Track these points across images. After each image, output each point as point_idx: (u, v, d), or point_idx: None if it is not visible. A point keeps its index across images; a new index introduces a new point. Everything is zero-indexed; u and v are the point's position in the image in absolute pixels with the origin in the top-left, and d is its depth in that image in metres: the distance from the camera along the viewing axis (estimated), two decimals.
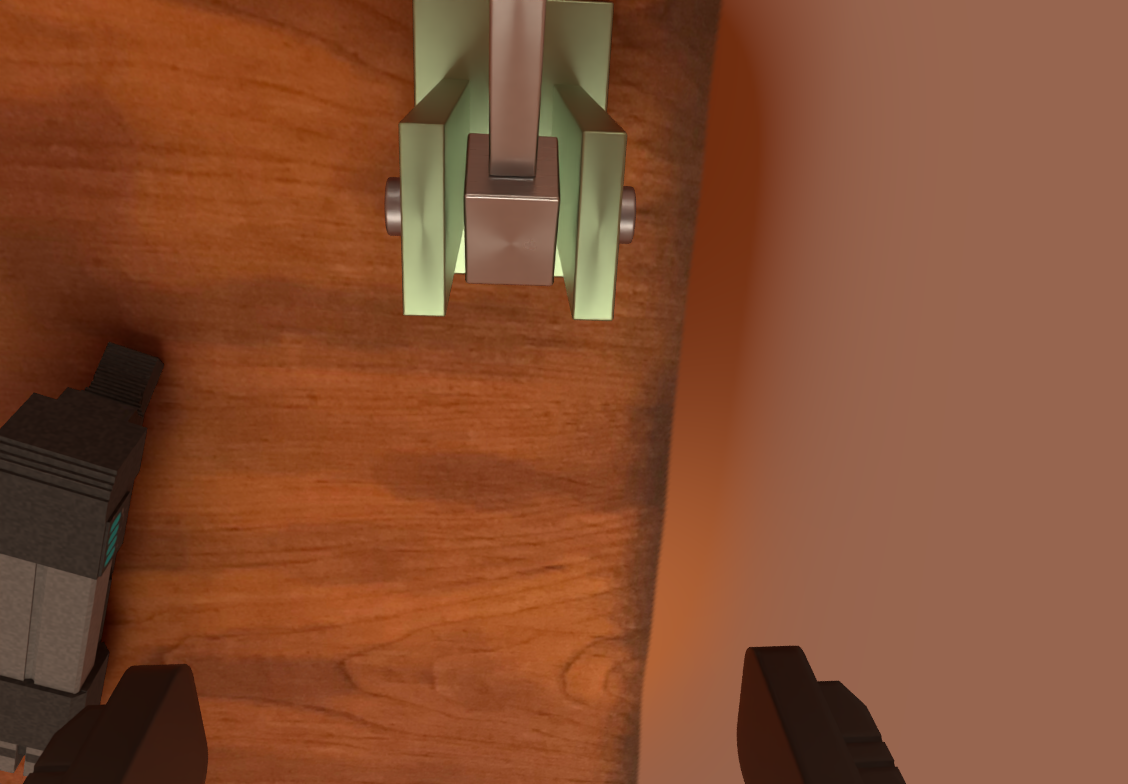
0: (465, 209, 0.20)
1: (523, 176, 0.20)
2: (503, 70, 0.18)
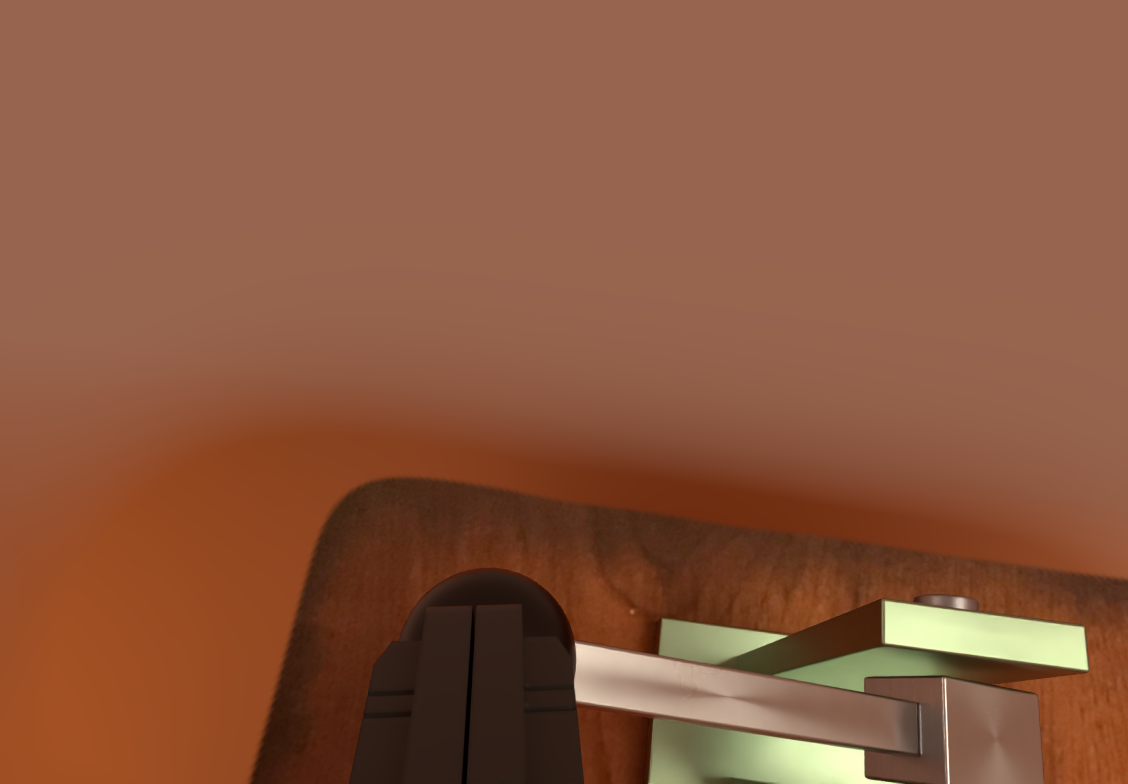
0: None
1: (917, 716, 0.19)
2: (815, 724, 0.18)
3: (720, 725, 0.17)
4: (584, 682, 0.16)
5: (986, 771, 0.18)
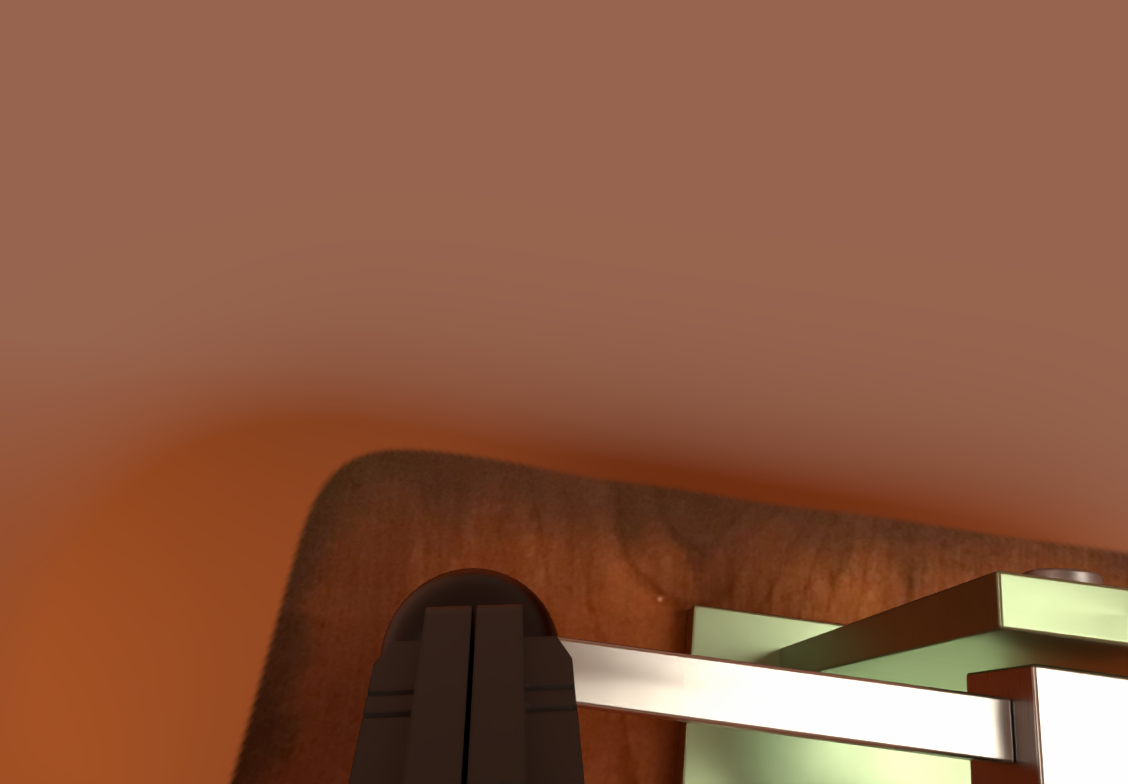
0: None
1: (1012, 715, 0.16)
2: (861, 724, 0.15)
3: (735, 725, 0.15)
4: None
5: (1104, 781, 0.15)
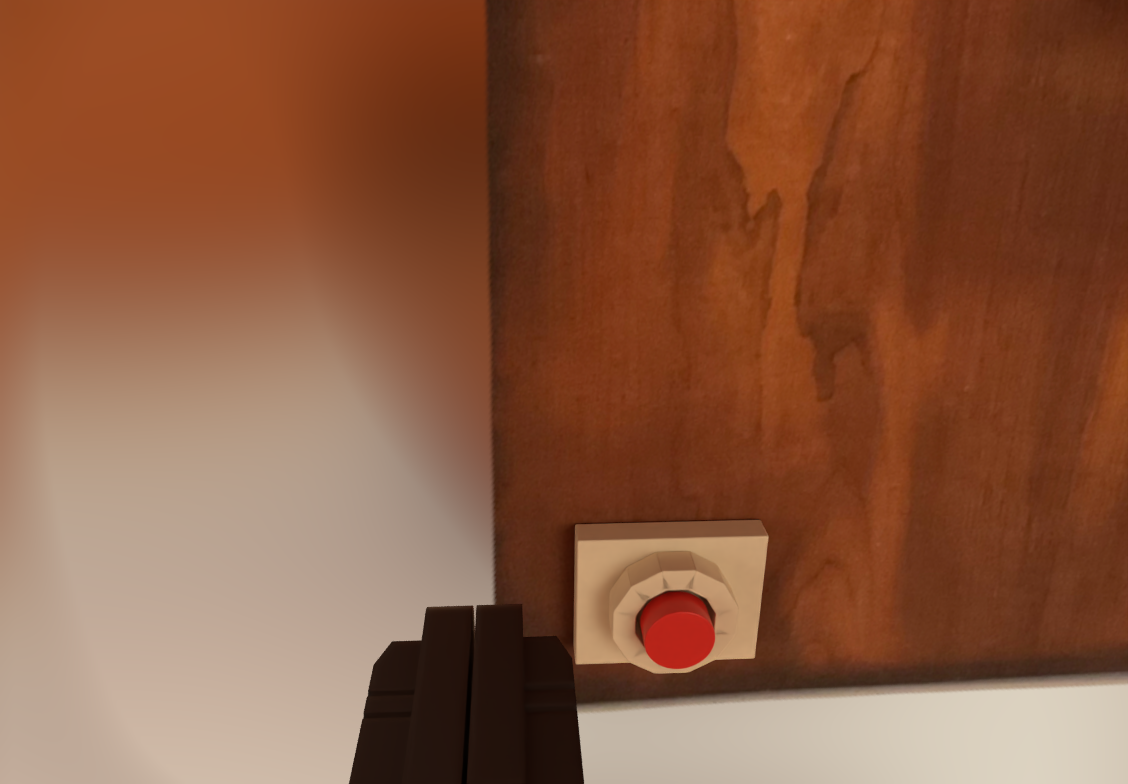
0: None
1: None
2: None
3: None
4: None
5: None
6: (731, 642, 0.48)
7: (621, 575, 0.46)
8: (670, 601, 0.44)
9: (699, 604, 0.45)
